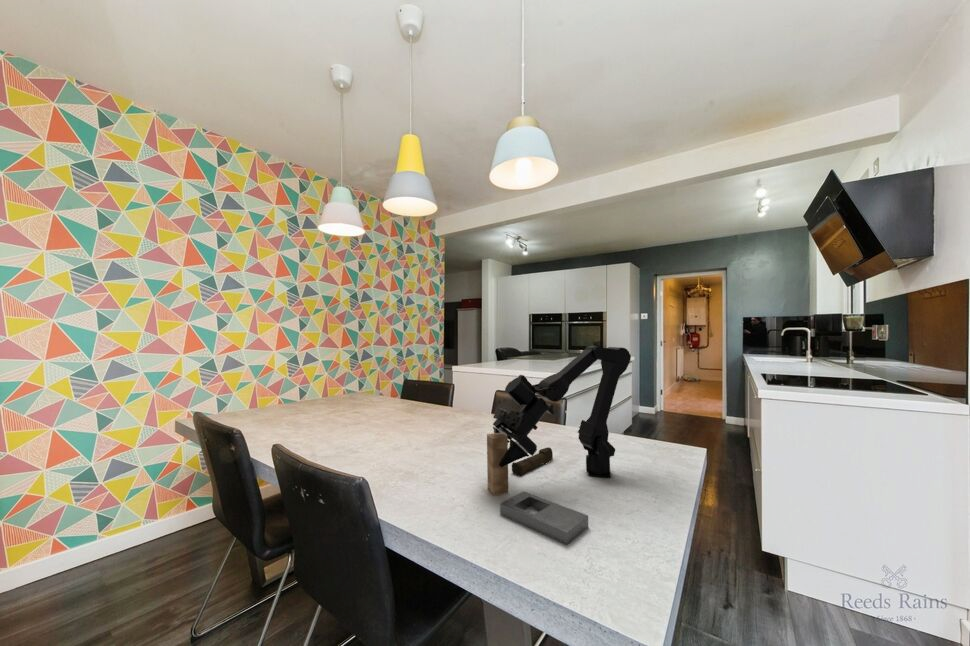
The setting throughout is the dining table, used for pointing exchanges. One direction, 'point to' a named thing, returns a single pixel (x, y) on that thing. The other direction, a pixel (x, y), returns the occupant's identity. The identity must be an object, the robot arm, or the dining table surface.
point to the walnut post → (497, 463)
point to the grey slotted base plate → (545, 517)
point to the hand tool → (532, 461)
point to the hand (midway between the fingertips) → (493, 460)
